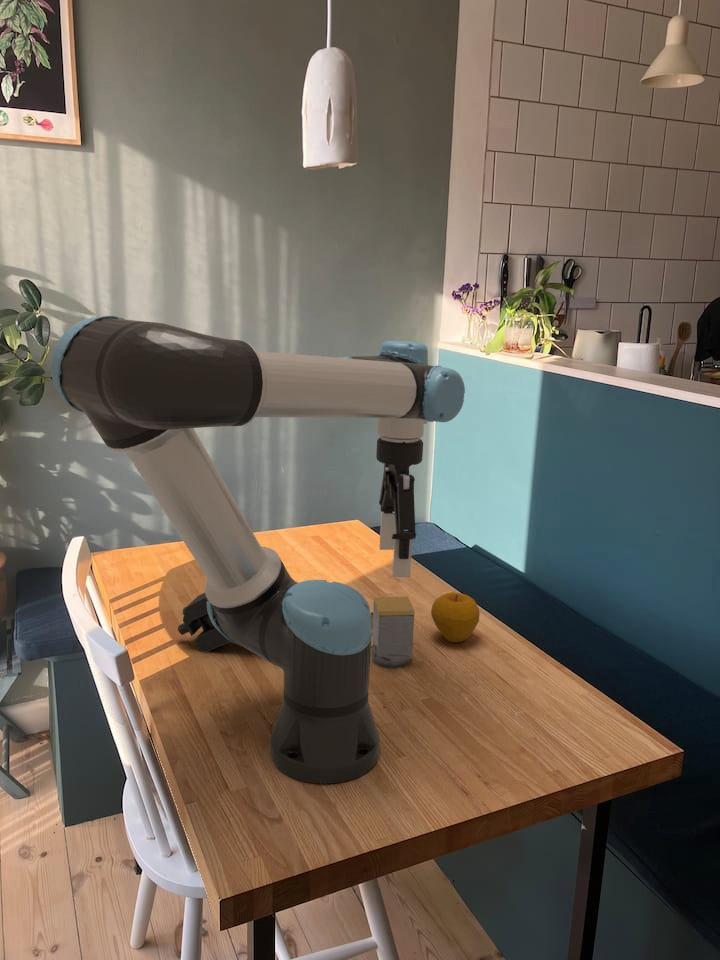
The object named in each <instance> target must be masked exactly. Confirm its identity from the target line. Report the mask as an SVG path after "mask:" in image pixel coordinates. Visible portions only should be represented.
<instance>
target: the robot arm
mask: <svg viewBox="0 0 720 960" xmlns="http://www.w3.org/2000/svg"><path fill="white" fill-rule="evenodd" d="M50 373H51V379H52V383H53V386H54V388H55V390H56V392H57V393H58V395H59V396H60V398H61V399H62V400H63V401H64V402H66V404H68V405H69V406H70V407H72V408H73V409H74V410H76V411H78V412H81V413H84V414H85V415H86V417H87V418H88V419H89V422H90V423H91V424H92V426H93V428H94V429H95V430H96V432H97V434H98V435H99V436H100V438H101V440H102V441H103V442H104V445H106V447H107V448H108V449H110V450H112V451H117V452H123V453H126V455H128V458H129V459H130V461H131V462H132V464H133V465H134V467H135V468H136V470H137V472H138V473H139V475H140V477H141V478H142V479H143V481H144V482H145V484H146V485H147V487H148V488H149V490H150V492H151V493H152V495H153V497H154V498H155V500H156V501H157V503H158V504H159V506H160V508H161V509H162V510H163V512H164V514H165V515H166V517H167V518H168V520H169V521H170V522H171V524H172V526H173V528H174V529H175V531H176V532H177V534H178V535H179V537H180V538H181V540H182V542H183V543H184V545H185V546H186V548H187V549H188V551H189V553H190V554H191V555H192V557H193V559H194V560H195V561H196V563H197V565H198V566H199V568H200V570H201V571H202V573H203V574H204V576H205V578H206V582H205V585H204V593H205V594H206V597H207V599H208V601H207V611H208V615H209V618H210V620H211V622H212V624H213V625H214V627H215V628H216V629H217V630H218V631H219V632H220V633H221V634H222V635H223V636H224V637H225V638H227V639H228V640H230V641H231V642H230V643H232V644H233V643H234V644H236V645H238V646H241V647H243V648H244V649H246V650H248V651H250V652H252V653H254V654H256V655H257V656H259V657H260V658H262V659H264V660H266V661H267V662H269V663H271V664H273V665H274V666H276V667H278V668H279V669H281V670H282V672H283V698H282V699H283V700H282V703H281V706H280V709H279V712H278V715H277V718H276V720H275V723H274V726H273V729H272V732H271V735H270V758H271V761H272V762H273V764H274V765H275V766H276V768H277V769H279V771H281V772H282V773H283V774H286V775H287V776H289V777H290V778H294V779H297V780H299V781H303V782H307V783H314V784H335V783H336V784H337V783H342V782H347V781H351V780H353V779H356V778H359V777H361V776H363V775H364V774H365V775H366V773H368V772H369V771H370V770H371V769H373V767H374V766H375V765H376V763H377V761H379V757H380V735H379V730H378V728H377V723H376V722H375V719H374V715H373V712H372V709H371V705H370V702H369V689H370V687H369V686H370V670H371V669H370V668H371V652H372V637H373V629H372V625H371V618H370V616H371V608H370V604H369V603H368V601H367V599H366V598H365V597H364V596H363V595H362V594H361V593H360V592H359V591H358V590H356V589H355V588H353V587H351V586H349V585H346V584H344V583H342V582H339V581H338V582H337V581H332V582H331V581H327V579H308V580H303V581H300V582H297V581H295V579H293V578H292V577H291V575H290V573H289V571H288V569H287V568H286V566H285V564H284V563H283V561H282V560H281V557H280V556H279V554H278V552H276V550H274V549H273V548H271V547H266V546H261V544H260V542H259V541H258V539H257V537H256V535H255V533H254V532H253V531H252V528H251V527H250V525H249V523H248V521H247V520H246V517H245V516H244V514H243V512H242V511H241V509H240V507H239V505H238V504H237V502H236V500H235V499H234V496H233V495H232V493H231V492H230V490H229V487H228V486H227V484H226V483H225V481H224V480H223V478H222V475H221V473H220V472H219V470H218V468H217V467H216V465H215V463H214V462H213V460H212V458H211V456H210V454H209V453H208V451H207V449H206V448H205V445H204V444H203V442H202V441H201V439H200V437H199V436H198V434H197V431H196V430H195V429H196V428H197V429H200V428H218V427H222V428H223V427H242V426H246V425H248V424H249V423H251V422H252V421H253V420H254V419H255V418H338V419H339V418H341V419H342V418H347V419H348V418H349V419H350V418H354V419H355V418H359V419H361V418H366V419H368V418H372V419H373V418H374V419H375V418H376V419H377V424H376V426H377V428H376V429H377V430H376V434H377V436H379V438H377V440H376V452H375V453H376V455H375V456H376V460H377V461H378V462H379V463H381V464H383V465H384V466H383V474H382V482H381V489H380V495H379V500H378V504H379V506H380V526H379V527H380V529H379V530H380V531H379V534H380V535H379V550H381V551H385V550H386V551H389V550H390V551H391V550H392V551H393V559H392V561H393V562H392V578H411V566H412V563H411V562H412V551H413V550H412V549H413V548H412V547H413V540H415V539H416V538H417V534H416V512H415V511H416V510H415V476H414V475H413V474H410V467H411V466H413V465H414V466H416V465H419V464H420V463H422V462H423V455H424V454H423V453H424V441H423V440H422V438H423V436H424V432H425V429H424V428H425V426H424V425H425V424H426V425H427V424H428V422H430V423H431V422H432V423H433V422H437V423H438V422H439V423H449V422H450V421H452V420H454V419H455V418H456V417H457V416H458V415H459V413H460V411H461V410H462V408H463V406H464V402H465V395H466V394H465V393H466V387H465V382H464V379H463V378H462V376H461V375H460V373H459V372H458V371H457V370H455V369H453V368H448V367H443V366H441V365H429V354H428V346H427V345H426V344H425V343H423V342H419V341H410V340H409V341H408V340H387V341H384V342H382V344H381V348H380V352H379V355H364V356H363V355H362V356H361V355H360V356H358V355H357V356H348V355H344V356H342V357H340V356H339V357H336V356H335V357H332V356H325V355H324V356H323V355H322V356H321V355H312V354H311V355H310V354H308V355H307V354H297V353H296V354H295V353H288V352H287V353H285V352H273V351H264V350H262V351H261V350H259V351H258V350H257V349H256V348H255V347H254V346H253V345H252V344H250V343H249V342H247V341H244V340H241V339H240V340H238V339H229V338H223V337H218V336H217V337H216V336H213V335H209V334H205V333H200V332H197V331H193V330H190V329H186V328H182V327H178V326H175V325H171V324H167V323H162V322H154V321H145V320H144V321H143V320H142V321H141V320H134V319H133V320H132V319H125V318H122V317H119V316H115V315H102V316H95V317H88V318H84V319H82V320H80V321H78V322H76V323H74V324H73V325H72V326H70V327H69V328H68V329H67V330H66V331H64V333H63V334H62V335H61V336H60V338H59V339H58V340H57V343H56V345H55V347H54V350H53V354H52V358H51V361H50Z"/></svg>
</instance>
